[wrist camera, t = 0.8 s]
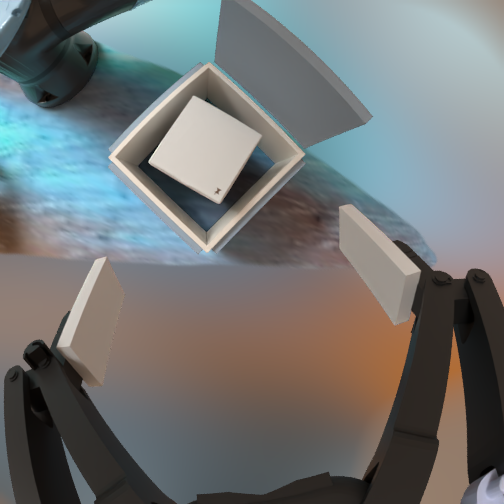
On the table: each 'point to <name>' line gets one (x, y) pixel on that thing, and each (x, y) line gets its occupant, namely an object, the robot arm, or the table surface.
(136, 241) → the table surface
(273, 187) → the carton
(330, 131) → the flap
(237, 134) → the supplement box
